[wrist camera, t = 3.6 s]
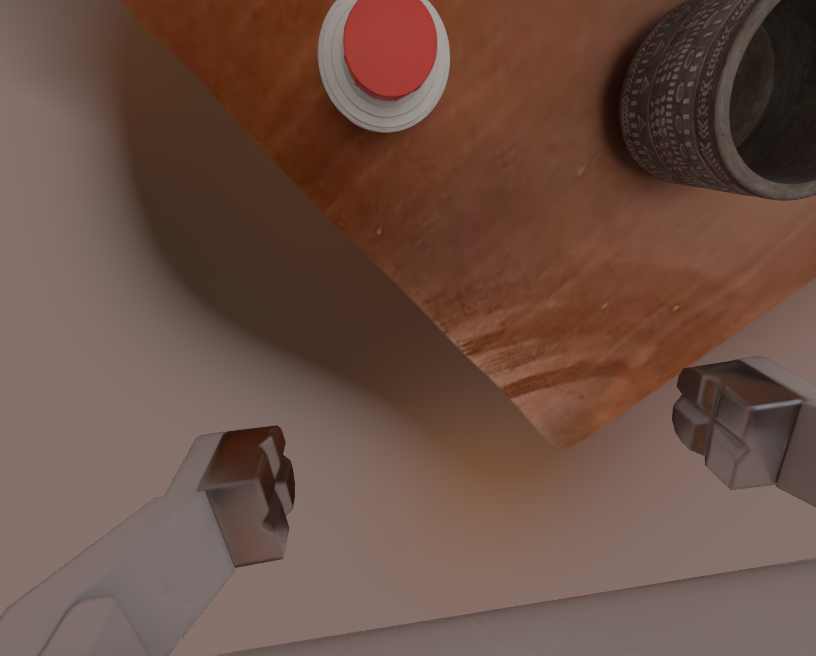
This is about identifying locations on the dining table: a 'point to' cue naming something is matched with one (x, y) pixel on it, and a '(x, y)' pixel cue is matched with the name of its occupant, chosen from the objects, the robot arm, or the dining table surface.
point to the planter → (727, 98)
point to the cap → (389, 47)
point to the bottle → (357, 102)
